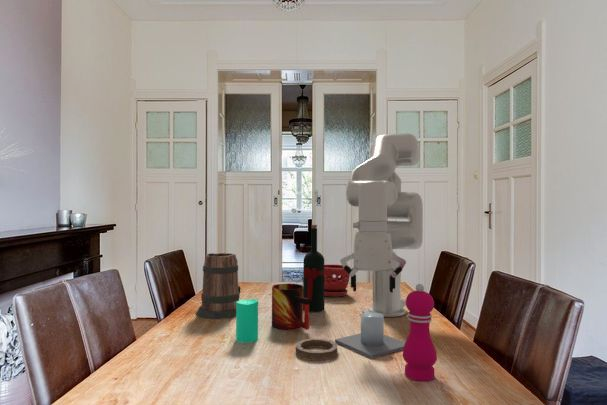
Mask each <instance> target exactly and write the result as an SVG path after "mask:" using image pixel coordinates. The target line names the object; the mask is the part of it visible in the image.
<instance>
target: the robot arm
mask: <svg viewBox="0 0 607 405" xmlns="http://www.w3.org/2000/svg"><path fill="white" fill-rule="evenodd" d="M369 150H370V151H369V159H367V160H366V161H364V162H363V163H361V164H360V165H358V166H357V167H355V168H354V169H353V170H352V172H351V174H350V175H349V178H348V182H347V186H346V193H345V195H346V201H347V203H348V204H349V205H350V206H351V207H355V208H357V207H358V221H355V222H352V228H353V229H354V228H355V229H357V230H358V231H356V232H355V236H354V239H353V240H354V242H353V252H351V253H350V254H348V255H346V256H344V257H342V258H340V265H342V266H343V267H344V270H345V271H346V272H347V273H348V274H349V275H350V288H353V289H352V291H353V292H356V291H357V275H356V273H357V272H358V271H363V272H364V271H365V272H366V271H370V272H372V305H371V306H368V307H367V311H369V312H370V313H379V314H382V315H383V316H384V318H396V317H397V318H398V317H402V316H404V315H405V314H406V309H405V307H406V299H404V298H402V296H401V295H402V294H401V290H402V289H401V288H402V287H401V286H402V285H401V284H402V279H401V276H402V271H403V269H404V267H405V265H406V263H407V261H406V259H404V258H403V257H400V256H398V255H397V253H396V252H395V251H394V250H417V249H420V248H421V247H422V244H423V234H424V233H423V232H424V228H423V226H424V225H423V224H424V222H423V220H424V219H423V218H424V217H423V216H424V213H423V211H424V210H423V205H424V204H423V199H422V196H421V194H419V193H417V192H414V191H402V179H401V177H400V176H399V174H397V173H396V167H406V166H407V167H408V166H409V167H411V166H415V165H417V164H418V163H419V161H420V157H421V154H420V152H421V151H420V145H419V142H418V140H417V138H416V136H415V135H414V134H412V133H407V132H406V133H388V134H387V133H386V134H380V135H378V136H377V137H376V138H374V140H373V142H372V146H371V147H370V149H369ZM388 219H391V220H388ZM395 219H396V220H395ZM397 220H398V221H397ZM400 220H401V221H400ZM402 220H408V221H402ZM351 260H353V261H352V262H353V267H352V268H351V267H350V266H349V265H348V263H347V262H350V261H351Z"/></svg>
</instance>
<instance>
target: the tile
mask: <svg viewBox="0 0 607 405" xmlns="http://www.w3.org/2000/svg"><path fill="white" fill-rule="evenodd" d="M334 342H335V343H336V344H337V345H340V346H342V347H344V348H346V349H348V350H351V351H353V352H355V353H358V354H360V355H362V356H365V357H367V358H369V359H371V360H372V359H375V358H379V357H383V356H385V355H386V356H387V355H389V354H393V353H396V352H399V351H403V348H404V345H405V343H406V341H403V340H400V339H398V338H394V337H392V336H389V335H386V334H384V343H383V344H382V345H378V346H370V345H365V344H363V343H361V332H359V333H356V334H351V335H348V336H344V337H339V338H336V339H334Z"/></svg>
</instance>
